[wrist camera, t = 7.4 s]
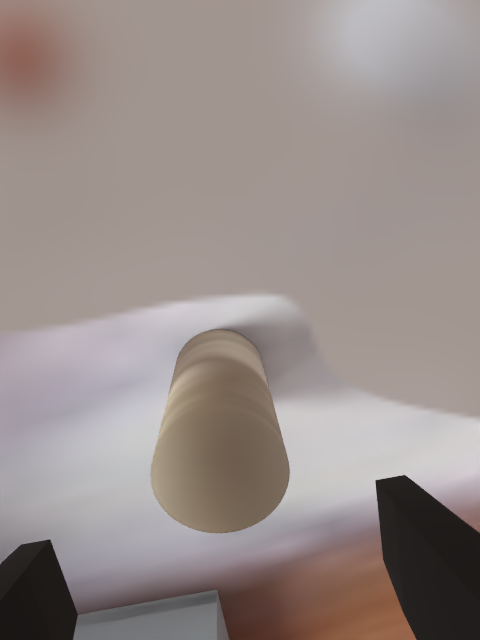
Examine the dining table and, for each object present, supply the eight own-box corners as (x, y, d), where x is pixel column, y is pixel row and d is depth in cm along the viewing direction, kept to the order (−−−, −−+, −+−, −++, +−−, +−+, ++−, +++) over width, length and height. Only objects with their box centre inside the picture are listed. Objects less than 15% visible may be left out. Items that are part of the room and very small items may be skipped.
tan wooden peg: (185, 417, 19) (167, 543, 12) (166, 337, 18) (135, 427, 11) (268, 401, 19) (297, 519, 12) (255, 321, 18) (278, 401, 11)
